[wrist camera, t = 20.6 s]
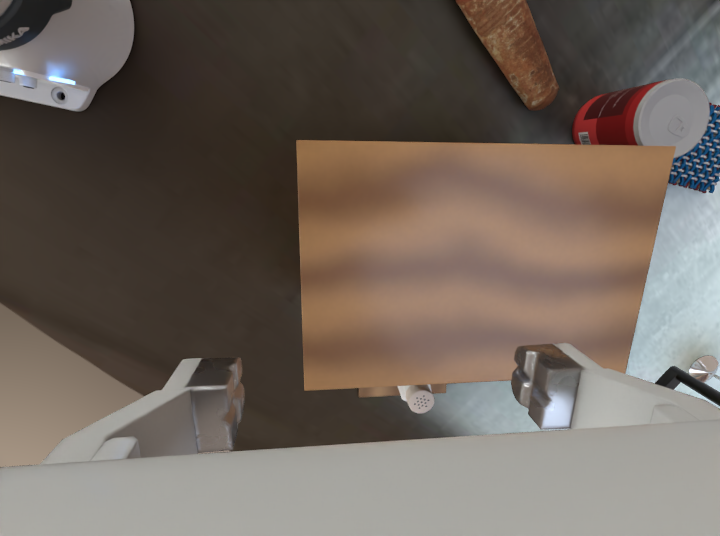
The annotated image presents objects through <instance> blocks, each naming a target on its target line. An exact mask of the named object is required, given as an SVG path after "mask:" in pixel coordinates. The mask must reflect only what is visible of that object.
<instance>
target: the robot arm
mask: <svg viewBox="0 0 720 536" xmlns="http://www.w3.org/2000/svg"><path fill="white" fill-rule="evenodd" d="M133 38H134V16H133V11H132V6H131V3H130V0H0V95H1V96H6V97H11V98H15V99H20V100H25V101H30V102H34V103H39V104H44V105H48V106H53V107H58V108H63V109H67V110H72V111H78V112H79V111H84V110H85V109H86V108H87V107H88V106H89V105H90V103H91V101H92V99H93V97H94V95H95V93H96V91H97V89H98V88H99V87H100V86H101V85H102V84H104V83H105V82H107V81H108V80H109V79H111V78H112V77H113V76H114V75H115V74H116V73H117V72H118V71H119V70H120V69H121V68H122V66H123V65H124V63H125V62H126V60H127V58H128V56H129V54H130V51H131V48H132V44H133ZM62 93H64V94H65V99H64V100H62V98H61V94H62ZM514 361H515V362H516V364H517V365H518V366H517V368H516V369H515V370H514V371H513V372H512V379H511V385H512V390H513V394H514V396H515V398H516V400H517V401H518V402H519V403H520V404H521V405H523V406H525V407H527V408H528V409H529V412H528V414H529V416H530V417H531V418H532V419H533V420H534V422H535V423H536V424H537V425H538V426H539V428H540V429H567V428H570V429H567V430H552V431H537V432H522V433H507V434H492V435H477V436H462V437H447V438H431V439H416V440H401V441H386V442H371V443H355V444H340V445H325V446H310V447H294V448H279V449H264V450H249V451H234V452H220V453H205V454H198V453H202V452H213V451H223V450H233V446H234V443H235V440H236V436H237V433H238V427H237V423H239V422H240V421H241V419H242V415H243V410H244V386H243V385H242V384H241V383H240V378H241V375H242V372H243V371H242V362H241V359H240V357H237V358H204V359H203V358H194V359H183V360H182V361H181V363H180V364H179V366H178V367H177V369H176V370H175V371H174V373H173V374H172V376H171V377H170V379H169V380H168V382H167V383H166V385H165V386H164V388H163V389H162V390H160V391H154V392H152V393H150V394H149V395H147V396H145V397H143V398H141V399H139V400H137V401H135V402H133V403H131V404H129V405H127V406H126V407H124V408H122V409H120V410H118V411H116V412H114V413H112V414H110V415H108V416H106V417H104V418H102V419H101V420H99V421H97V422H95V423H93V424H91V425H89V426H87V427H85V428H83V429H81V430H79V431H78V432H76V433H74V434H72V435H70V436H68V437H66V438H64V439H62V440H61V442H60V443H59V444H58V445H57V446H56V447H55V448H54V449H53V451H52V452H51V453H50V454H49V455H48V456H47V457H46V458H45V459H44V460H43V461H42V462H41V464H39V465H26V466H9V467H0V536H720V409H719V408H717V407H716V406H714V405H713V404H711V403H709V402H708V401H706V400H703V399H700V398H697V397H694V396H691V395H687V394H684V393H681V392H678V391H675V390H672V389H669V388H666V387H663V386H660V385H657V384H654V383H651V382H648V381H645V380H642V379H639V378H636V377H633V376H630V375H627V374H624V373H621V372H618V371H615V370H612V369H609V368H607V369H603V368H602V367H601V366H599V365H598V364H597V363H595V362H594V361H593V360H591V359H590V358H588V357H587V356H586V355H584V354H583V353H582V352H580V351H579V350H577V349H576V348H575V347H573V346H572V345H571V344H568V343H558V344H540V345H525V346H519V347H517V349H516V351H515V355H514Z"/></svg>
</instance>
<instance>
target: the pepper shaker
mask: <svg viewBox="0 0 720 536" xmlns="http://www.w3.org/2000/svg"><path fill="white" fill-rule="evenodd" d="M398 389H399V392H400V395H401V398H402V399H403V400H404V401H407V403H408V405H409V407H410V409H411V410H412V411H414V412H416V413H425V412H427V411H429V410H430V409H431V408H432V406H433V405H434V396H433V394H432V392H431V385H430V384H427V385H407V386H398Z"/></svg>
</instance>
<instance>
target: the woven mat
mask: <svg viewBox="0 0 720 536" xmlns="http://www.w3.org/2000/svg"><path fill="white" fill-rule="evenodd" d="M711 104H712V103H709V108H710V115H709V122H708V125H707V128H706V131H705V133H704V135H703V137H702V138H701V140H700V141H699V142H698V143H697V145H696V146H695V147H694V148H693V149H691V150H690V151H689V152H687V153H686V154H684V155H682V156H680V157H678V158H673V163H672V167H671V172H670V176H669V181H668V182H669V183H670V184H673V185H677V182H678V183H679V186H683V187H686V188H687V186H688V185H689V188H690V189H694V190H698V188H699V191H701V192H702V193H706V189H708V190H710V191H709V192H710V193H713V191H714V186H715V185H716V184H717V183H716V182H718V181H720V179H719V177H720V166H719V165H720V111H719V110H720V106H719V105H718V106H717V105H711ZM716 106H717V107H716ZM711 115H712V117H711ZM712 144H713V145H712ZM699 160H700V161H699ZM688 166H690V167H688ZM711 172H712V173H711ZM714 177H715V178H714ZM712 180H713V181H712Z"/></svg>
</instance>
